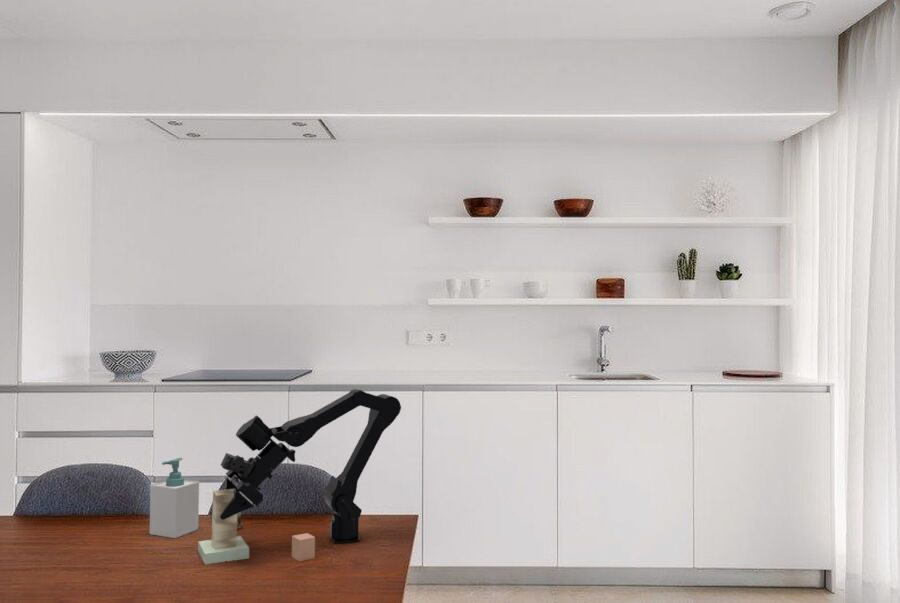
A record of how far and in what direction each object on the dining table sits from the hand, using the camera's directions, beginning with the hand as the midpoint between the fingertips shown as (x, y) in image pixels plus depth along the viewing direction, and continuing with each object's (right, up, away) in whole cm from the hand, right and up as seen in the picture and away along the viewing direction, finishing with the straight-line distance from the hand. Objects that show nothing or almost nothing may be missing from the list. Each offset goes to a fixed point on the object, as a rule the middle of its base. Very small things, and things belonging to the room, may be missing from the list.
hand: (218, 513), depth 174 cm
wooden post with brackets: (-3, -11, +19) cm, 22 cm away
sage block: (+1, -11, 0) cm, 11 cm away
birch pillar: (+1, -8, 0) cm, 8 cm away
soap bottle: (-17, -10, +18) cm, 27 cm away
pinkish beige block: (+20, -10, -1) cm, 23 cm away
